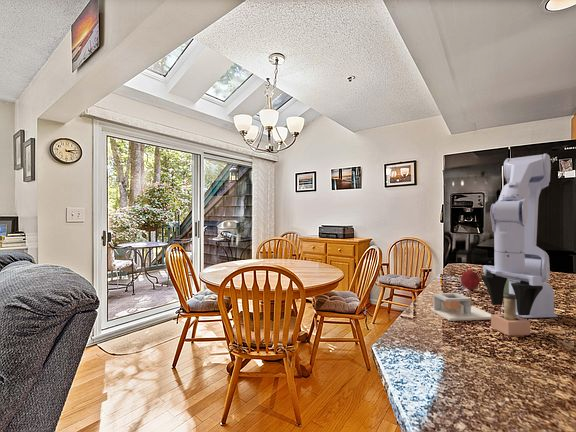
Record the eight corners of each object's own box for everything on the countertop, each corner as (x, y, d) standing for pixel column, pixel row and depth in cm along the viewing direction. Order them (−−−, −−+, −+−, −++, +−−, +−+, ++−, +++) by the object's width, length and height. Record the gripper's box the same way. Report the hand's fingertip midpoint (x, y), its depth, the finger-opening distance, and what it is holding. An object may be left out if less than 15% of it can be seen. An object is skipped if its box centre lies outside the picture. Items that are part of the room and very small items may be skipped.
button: (453, 305, 82) (453, 298, 82) (459, 308, 79) (459, 300, 79) (443, 305, 82) (443, 298, 82) (449, 308, 79) (449, 301, 79)
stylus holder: (511, 326, 72) (511, 313, 72) (530, 334, 66) (530, 321, 66) (491, 326, 71) (491, 314, 71) (508, 335, 66) (508, 322, 66)
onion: (483, 292, 103) (483, 269, 103) (467, 292, 103) (466, 269, 103) (473, 288, 109) (473, 266, 109) (457, 288, 109) (457, 266, 109)
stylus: (510, 328, 70) (510, 293, 70) (518, 332, 68) (518, 295, 68) (501, 329, 70) (501, 293, 70) (509, 332, 68) (509, 296, 68)
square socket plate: (473, 308, 85) (473, 290, 86) (497, 319, 77) (497, 299, 77) (430, 309, 85) (430, 292, 85) (449, 320, 76) (449, 301, 76)
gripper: (471, 248, 76) (472, 301, 76) (519, 256, 61) (519, 320, 61) (497, 248, 76) (498, 300, 76) (550, 255, 62) (551, 319, 62)
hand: (509, 309), depth 69 cm, fingers open, 7 cm apart
